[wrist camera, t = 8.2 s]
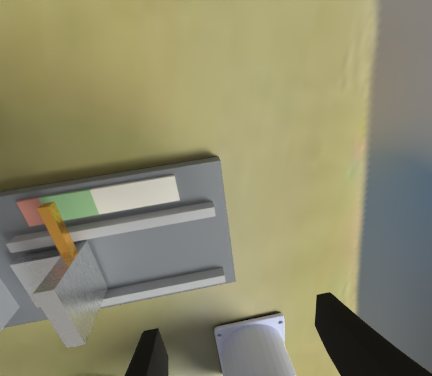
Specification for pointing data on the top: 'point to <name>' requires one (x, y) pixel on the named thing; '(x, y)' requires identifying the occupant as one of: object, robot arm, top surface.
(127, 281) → the gauge base
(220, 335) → the robot arm
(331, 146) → the top surface
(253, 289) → the top surface
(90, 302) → the gauge pointer slider
